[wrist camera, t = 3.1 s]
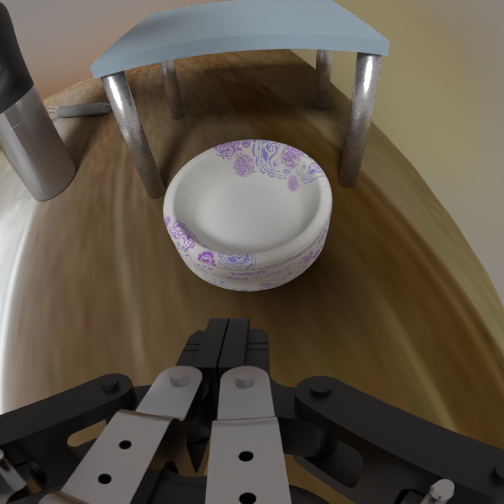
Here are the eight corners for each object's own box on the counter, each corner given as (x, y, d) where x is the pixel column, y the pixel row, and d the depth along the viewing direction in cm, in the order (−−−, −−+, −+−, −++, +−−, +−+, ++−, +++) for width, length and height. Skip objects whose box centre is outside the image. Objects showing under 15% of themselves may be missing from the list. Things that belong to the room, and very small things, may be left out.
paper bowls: (167, 297, 30) (137, 255, 23) (200, 187, 38) (187, 137, 31) (321, 312, 28) (336, 272, 21) (322, 193, 36) (330, 141, 29)
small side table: (359, 189, 36) (390, 41, 20) (146, 201, 37) (89, 66, 21) (325, 102, 48) (331, 0, 31) (173, 111, 49) (150, 14, 33)
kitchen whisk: (110, 120, 51) (100, 94, 46) (19, 135, 57) (9, 118, 52) (125, 104, 54) (116, 79, 49) (32, 121, 60) (23, 104, 55)
